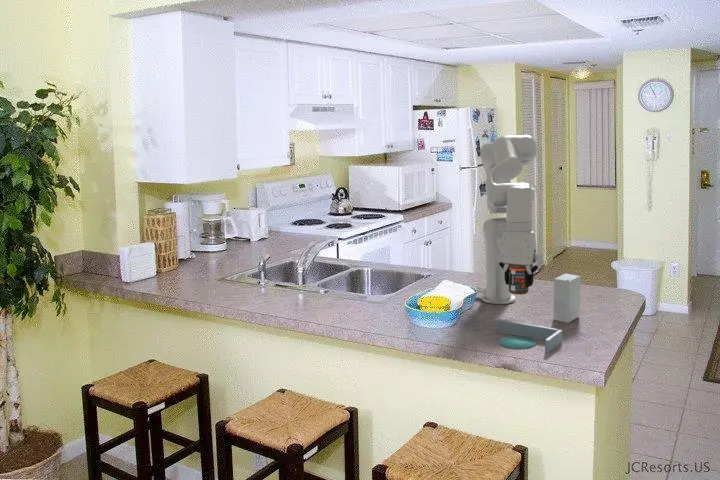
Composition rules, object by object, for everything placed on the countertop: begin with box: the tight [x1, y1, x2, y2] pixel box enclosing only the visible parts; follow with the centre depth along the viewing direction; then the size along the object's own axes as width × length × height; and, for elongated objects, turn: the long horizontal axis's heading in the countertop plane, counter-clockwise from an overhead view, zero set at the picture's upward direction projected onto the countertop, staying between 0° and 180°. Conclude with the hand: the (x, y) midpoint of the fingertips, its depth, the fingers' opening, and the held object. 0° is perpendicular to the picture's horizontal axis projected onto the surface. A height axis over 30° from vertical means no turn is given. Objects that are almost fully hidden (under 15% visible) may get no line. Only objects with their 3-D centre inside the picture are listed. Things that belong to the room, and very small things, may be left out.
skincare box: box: [552, 273, 581, 324], centre depth 233 cm, size 8×6×15 cm
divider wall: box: [496, 319, 563, 354], centre depth 213 cm, size 22×12×4 cm, turn 53°
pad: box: [498, 335, 537, 350], centre depth 212 cm, size 11×11×1 cm
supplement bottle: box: [509, 264, 530, 295], centre depth 210 cm, size 6×6×11 cm
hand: (518, 284), depth 211 cm, fingers closed on supplement bottle, 6 cm apart
